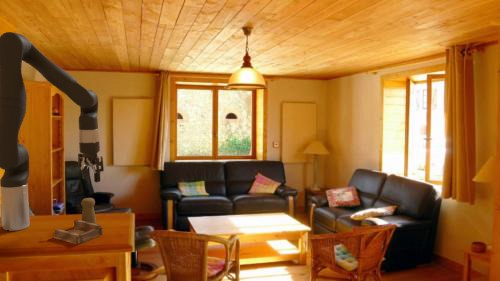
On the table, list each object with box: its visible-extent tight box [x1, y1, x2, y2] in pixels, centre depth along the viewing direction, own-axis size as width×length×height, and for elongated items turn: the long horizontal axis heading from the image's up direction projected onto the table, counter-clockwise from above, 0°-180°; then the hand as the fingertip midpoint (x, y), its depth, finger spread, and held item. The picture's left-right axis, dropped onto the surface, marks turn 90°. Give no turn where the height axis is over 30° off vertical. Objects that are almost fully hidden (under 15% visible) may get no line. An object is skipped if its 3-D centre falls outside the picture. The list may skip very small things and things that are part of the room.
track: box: [53, 219, 103, 246], centre depth 153 cm, size 13×11×4 cm
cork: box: [80, 197, 97, 224], centre depth 166 cm, size 6×6×11 cm
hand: (91, 180), depth 163 cm, fingers open, 8 cm apart
